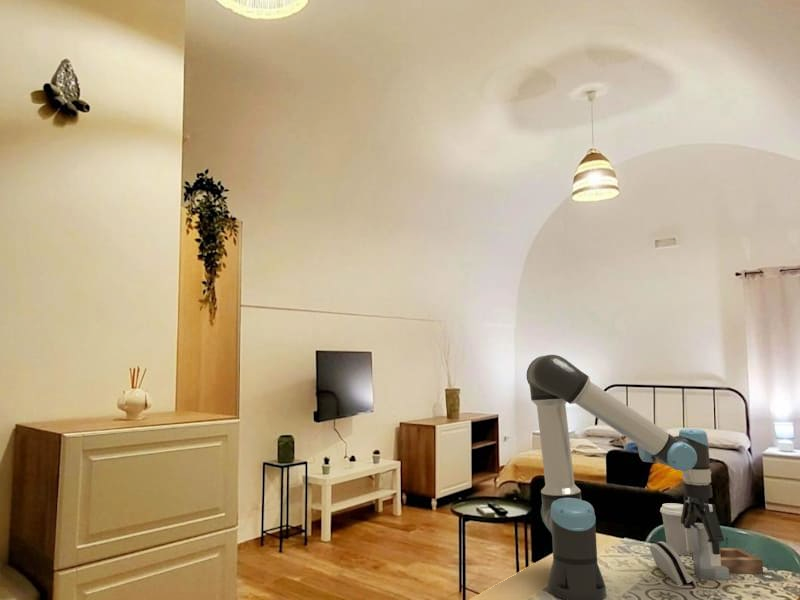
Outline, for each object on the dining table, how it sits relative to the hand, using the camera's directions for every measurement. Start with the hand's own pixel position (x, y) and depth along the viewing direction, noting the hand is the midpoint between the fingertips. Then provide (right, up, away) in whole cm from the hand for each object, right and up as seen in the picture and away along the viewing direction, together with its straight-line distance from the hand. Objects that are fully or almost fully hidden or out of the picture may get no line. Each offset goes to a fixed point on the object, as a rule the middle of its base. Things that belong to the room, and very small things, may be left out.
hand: (703, 558), depth 164 cm
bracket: (+2, -5, -1) cm, 6 cm away
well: (+11, -6, +8) cm, 15 cm away
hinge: (-9, -6, +1) cm, 11 cm away
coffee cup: (+4, -9, +22) cm, 24 cm away
